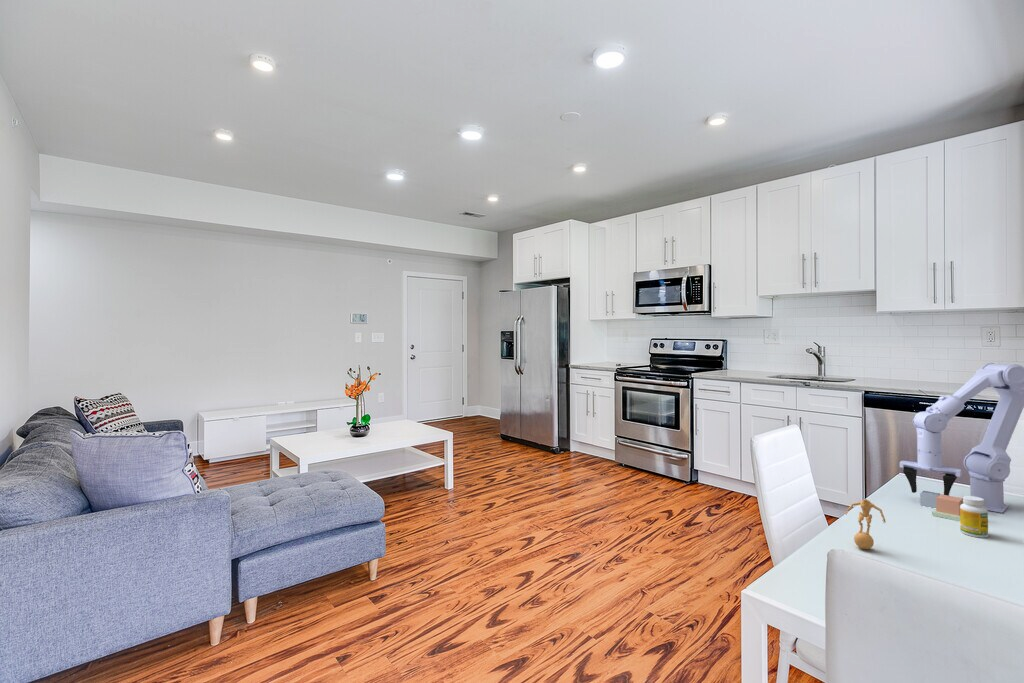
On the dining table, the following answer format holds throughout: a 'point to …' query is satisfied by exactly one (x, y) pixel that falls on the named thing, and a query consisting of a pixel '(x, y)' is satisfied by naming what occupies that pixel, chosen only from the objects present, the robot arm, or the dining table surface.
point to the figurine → (861, 537)
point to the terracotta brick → (948, 504)
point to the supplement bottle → (973, 517)
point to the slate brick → (928, 499)
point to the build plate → (945, 515)
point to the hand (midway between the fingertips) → (929, 495)
